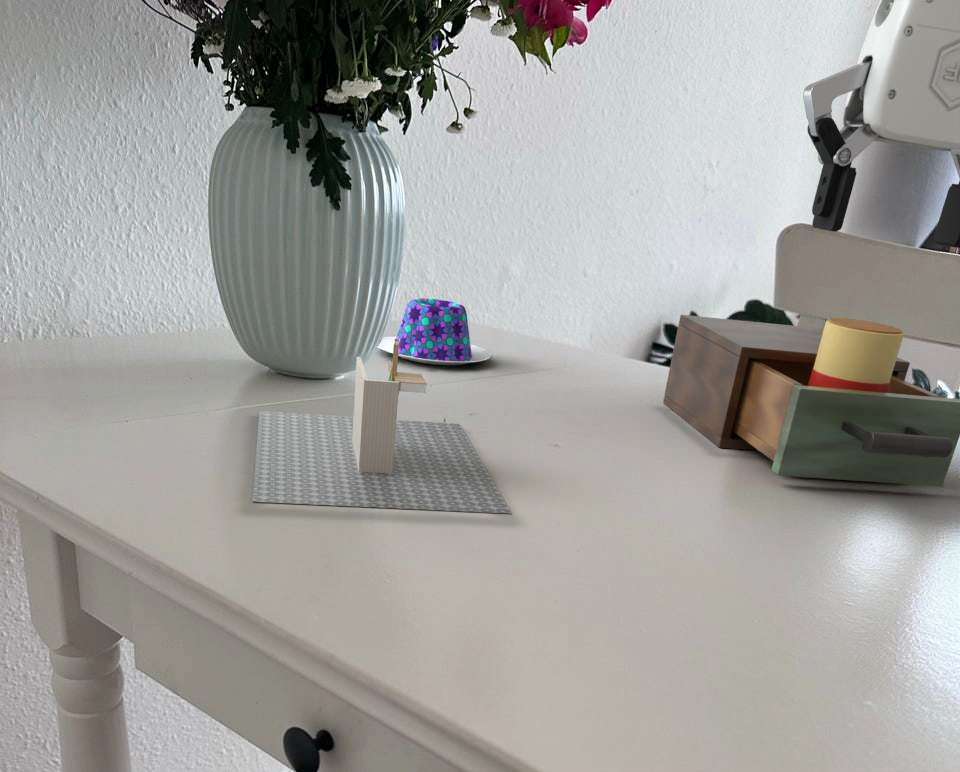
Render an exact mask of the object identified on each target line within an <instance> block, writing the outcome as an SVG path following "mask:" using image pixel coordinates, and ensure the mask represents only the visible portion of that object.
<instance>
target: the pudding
mask: <svg viewBox="0 0 960 772" xmlns="http://www.w3.org/2000/svg"><path fill="white" fill-rule="evenodd" d="M470 337H471V336H470V330H469V321H468V313H467V310H466V307H465V306H464V305H463V304H461V303H457V302H454V301H450V300H444V299H443V300H442V299H439V298H423V297H422V298H421V297H420V298H413V299H411V300H409V301H408V303H407V304H406V306H405V308H404V312H403V315H402V319H401V322H400V325H399V329H398V331H397V334H396V335H394V336H385V337H382V338H383V339H382V341H381V343H380V344H379V346H378V347H377V348H378V349H380V350H382V351H384V352H387V353H390V354H392V355H393V348H394V344H395V339H398V340H397V341H398V343H399V351H398V358H401V359H404V360H408V361H411V362H415V363H422V364H428V365H429V364H430V365H437V366H438V365H439V366H459V365H460V366H461V365H466V364H471V363H480V362H483V361H487V360H489V359H490V358H492V353H491V352H490V351H488V350H487V349H485V348H483V347H480V346H477V345H474V344H471V338H470Z"/></svg>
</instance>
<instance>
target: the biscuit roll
mask: <svg viewBox="0 0 960 772" xmlns="http://www.w3.org/2000/svg"><path fill="white" fill-rule="evenodd" d="M823 329H824V330H823V334H822V338H821V342H820V345H819V349H818V353H817V357H816V360H815V364H814V367H813V369H812V373H811V377H810V380H809V384H808V386H812V387H824V388H835V389H847V390H858V391H870V392H882V393H887V391H888V388H889V384H890V379H891V375H892V372H893V369H894V366H895V362H896V359H897V358H898V355H899V352H900V349H901V346H902V342H903V339H904V335H905V333H904V332H903V330H902V329H900V328H898V327H896V326H893V325H888V324H884V323H880V322H874V321H869V320H862V319H856V318H846V317H831V318H829V319H827V320H826V321H825V324H824V327H823Z"/></svg>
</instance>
